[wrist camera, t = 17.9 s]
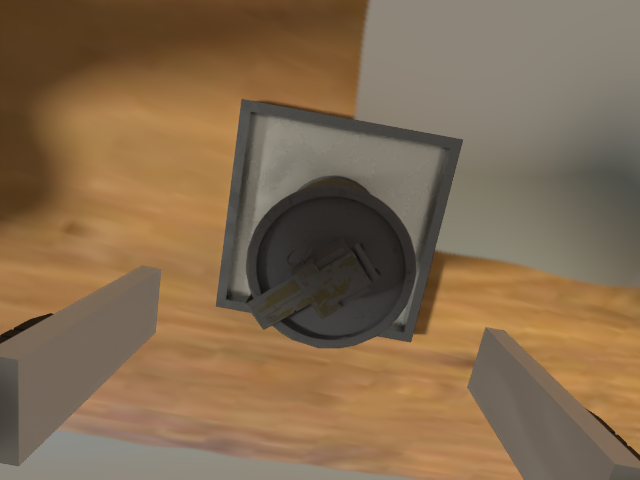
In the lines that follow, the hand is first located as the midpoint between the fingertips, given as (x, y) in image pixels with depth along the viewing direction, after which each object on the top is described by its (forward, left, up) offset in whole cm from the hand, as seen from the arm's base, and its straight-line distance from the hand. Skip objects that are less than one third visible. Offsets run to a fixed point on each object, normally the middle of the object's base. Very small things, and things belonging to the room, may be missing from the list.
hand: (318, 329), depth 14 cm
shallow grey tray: (0, 0, -25) cm, 25 cm away
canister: (0, 0, -25) cm, 25 cm away
